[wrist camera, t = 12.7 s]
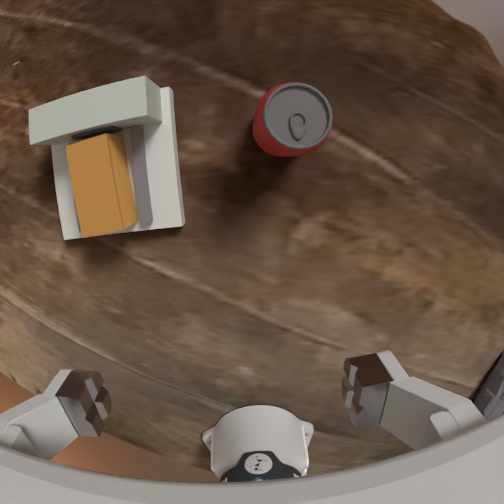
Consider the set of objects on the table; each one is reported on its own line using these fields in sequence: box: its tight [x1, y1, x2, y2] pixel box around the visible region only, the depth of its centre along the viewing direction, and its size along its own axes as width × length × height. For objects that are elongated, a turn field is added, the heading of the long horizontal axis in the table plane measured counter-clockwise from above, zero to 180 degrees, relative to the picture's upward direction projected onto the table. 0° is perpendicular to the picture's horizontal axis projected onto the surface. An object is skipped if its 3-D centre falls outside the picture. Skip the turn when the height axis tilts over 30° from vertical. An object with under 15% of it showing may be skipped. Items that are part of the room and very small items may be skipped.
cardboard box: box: [66, 133, 138, 238], centre depth 31 cm, size 10×5×5 cm, turn 8°
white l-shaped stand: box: [29, 76, 185, 240], centre depth 31 cm, size 16×16×8 cm
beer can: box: [252, 83, 333, 157], centre depth 29 cm, size 7×7×12 cm
